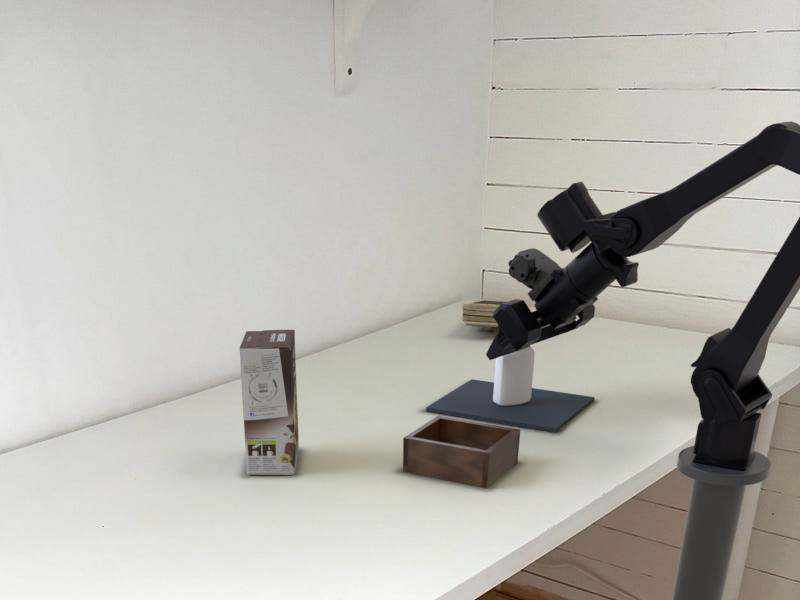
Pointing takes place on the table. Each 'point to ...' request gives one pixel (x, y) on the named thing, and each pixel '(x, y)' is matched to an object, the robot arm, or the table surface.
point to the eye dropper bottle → (514, 378)
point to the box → (481, 313)
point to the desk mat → (538, 413)
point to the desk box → (461, 451)
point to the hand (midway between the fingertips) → (506, 350)
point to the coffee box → (270, 401)
